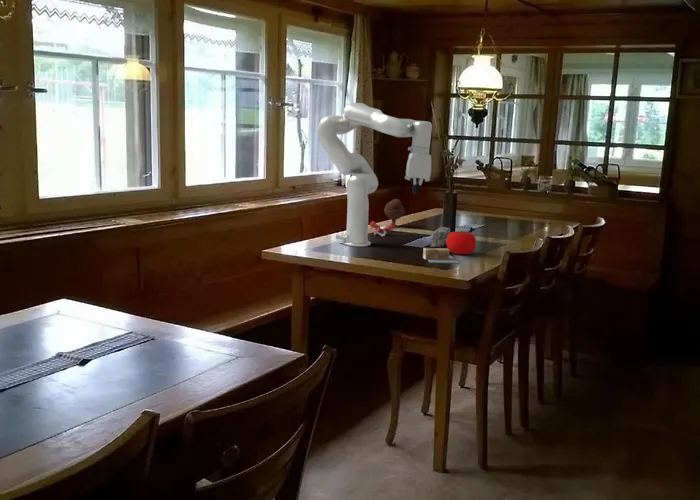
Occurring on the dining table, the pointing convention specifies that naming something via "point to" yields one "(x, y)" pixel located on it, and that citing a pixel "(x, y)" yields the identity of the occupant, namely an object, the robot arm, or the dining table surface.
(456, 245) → the tomato
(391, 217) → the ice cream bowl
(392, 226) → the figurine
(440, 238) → the rock
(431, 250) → the block
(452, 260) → the mat
